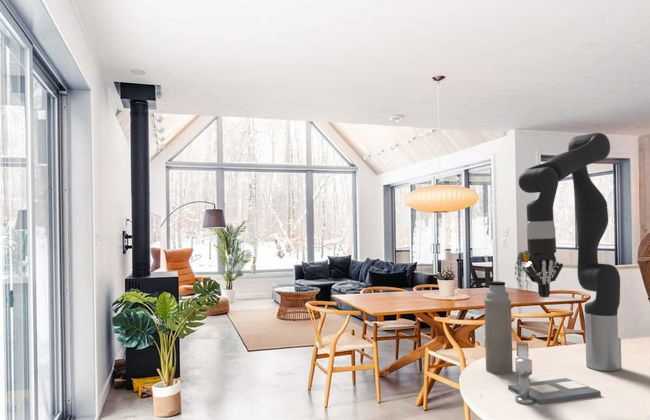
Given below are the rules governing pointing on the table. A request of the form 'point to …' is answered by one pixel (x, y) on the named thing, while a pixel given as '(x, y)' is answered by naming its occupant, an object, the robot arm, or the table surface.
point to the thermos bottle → (498, 329)
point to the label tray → (557, 390)
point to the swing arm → (523, 359)
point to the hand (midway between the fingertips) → (544, 296)
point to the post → (524, 391)
